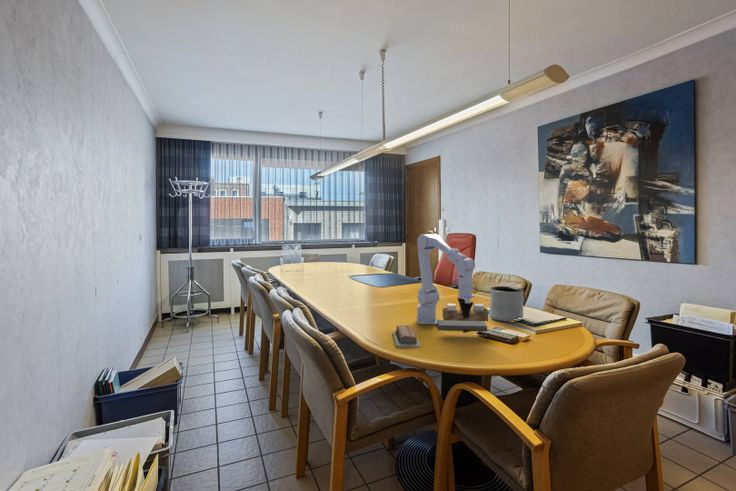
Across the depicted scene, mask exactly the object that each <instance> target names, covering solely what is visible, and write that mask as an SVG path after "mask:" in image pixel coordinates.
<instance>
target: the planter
mask: <svg viewBox="0 0 736 491" xmlns="http://www.w3.org/2000/svg"><path fill="white" fill-rule="evenodd" d="M489 291H490V292H489V295H490V296H489V316H490V318H491V319H493V320H494V321H497V322H502V321H504V322H503V323H508V322H507V321H512V320H514V319H518V318H522V317H523V318H524V289H523V288H520V287H515V286H507V285H504V286H503V285H501V286H500V285H499V286H492V287H490V290H489Z"/></svg>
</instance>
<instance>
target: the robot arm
mask: <svg viewBox="0 0 736 491" xmlns="http://www.w3.org/2000/svg"><path fill="white" fill-rule="evenodd" d="M416 242H417V244H416V245H417V255H418V256H417V257H418V264H419V271H420V272H419V273H420V279H421V286H420V288H419V289H417V291H418V292H417V301H418V303H419V304H417V306H416V309H417V310H416V311H417V312H416V313H417V314H416V320H417V321H416V323H417V324H418V325H437V315H436V314H437V305H438V302H439V301H440V293H439V291H438V288H437V287H436V286H435V285H434V280H433V275H432V267H431V266H432V264H431V258H430V256H431V255H430V253H431V252H432V251H433V250H434V249H436V248H437V249H438V250H440V251H441V252H443V254H445V255H446V258H447V259H448V260H449V261H450V262H451V263H452V264H454V266H455V268H456V269H455V270H456V272H457V275H458V295H457V301H458V304H459V308H460V309H459V310H462V312H463V317H464V318H469V314H470V310H472V307H473V306H474V302H473V301H471V299H472V298H475V294H473V291H472V290H473V270H474V269H476V268H475V267H476V263H475V260H474V259H473V258H472V257H467V256H466V255H465V254H463V253H461V252H460V251H459V248H451V246H449V245H448V244H447V242H445V241H444V240H443V238H442V237H441V236H440V235H439V234H437V233H430V234H429V233H426V234H425V233H421V234H419V236H418V238H417V239H416Z"/></svg>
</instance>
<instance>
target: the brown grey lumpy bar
mask: <svg viewBox="0 0 736 491" xmlns="http://www.w3.org/2000/svg"><path fill="white" fill-rule="evenodd" d="M442 319H444V320H450V321H484V322H489V310H488V308H486V307H484V311H475V310H474V307H473V308H472V309H471V310H470V314H469V318H464V317H463V312H462V310H461V309H456V311H447V307H445V306H443V307H442Z"/></svg>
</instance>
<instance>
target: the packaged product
mask: <svg viewBox="0 0 736 491" xmlns="http://www.w3.org/2000/svg"><path fill="white" fill-rule="evenodd" d="M391 333H392V336H393V342H394V346H395V347H396V349H397V348H421V344H420V342H419V339H418V337H417V335H416V333H415V332H414V329H413V328H412V326H411V325H403V324H402V325H399V324H398V325H396V329H395V331H392V332H391Z"/></svg>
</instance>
